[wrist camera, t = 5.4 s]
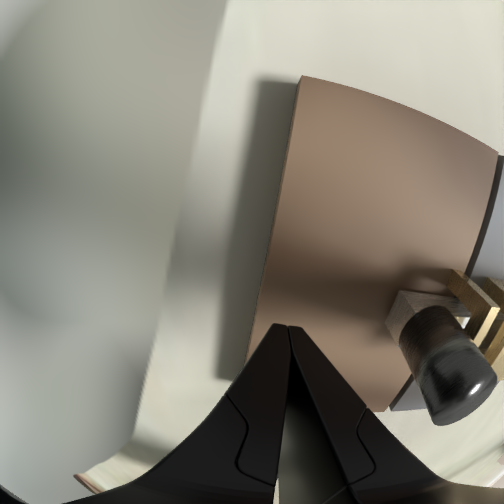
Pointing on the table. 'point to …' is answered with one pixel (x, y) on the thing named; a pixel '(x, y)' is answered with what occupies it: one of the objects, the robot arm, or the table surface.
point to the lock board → (374, 229)
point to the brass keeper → (482, 314)
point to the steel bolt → (443, 353)
